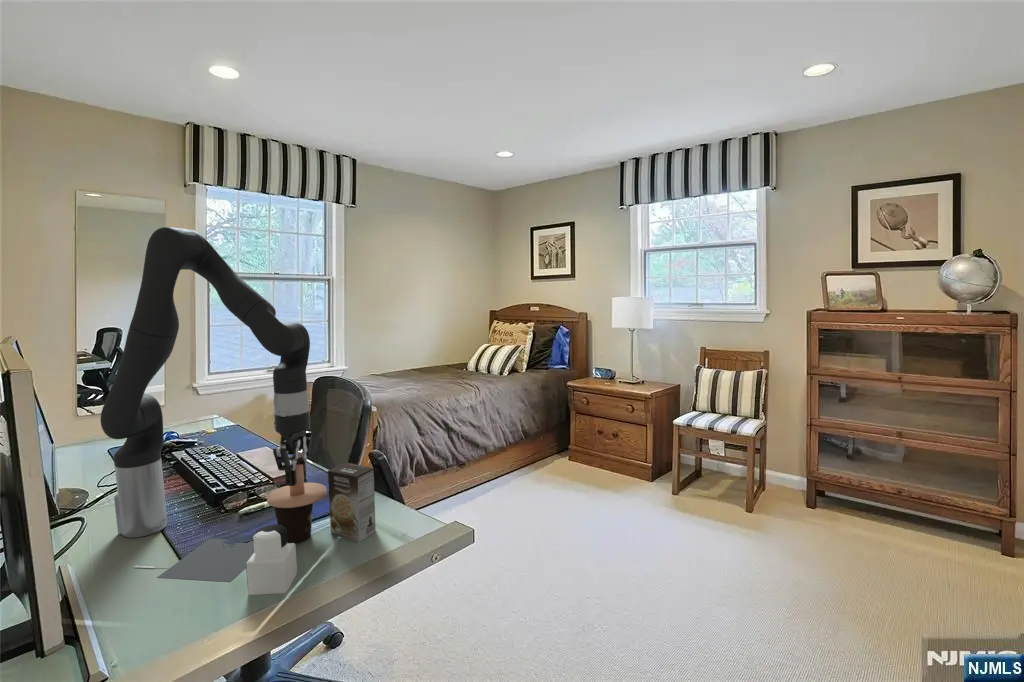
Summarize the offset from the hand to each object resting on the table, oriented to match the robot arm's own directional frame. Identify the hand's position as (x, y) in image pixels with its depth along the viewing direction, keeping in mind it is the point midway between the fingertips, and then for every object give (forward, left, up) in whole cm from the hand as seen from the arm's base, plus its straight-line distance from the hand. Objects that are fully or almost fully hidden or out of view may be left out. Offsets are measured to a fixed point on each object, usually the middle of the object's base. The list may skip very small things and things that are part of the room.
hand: (296, 481), depth 124 cm
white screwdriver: (-20, -17, -14) cm, 29 cm away
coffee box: (+12, +3, -14) cm, 19 cm away
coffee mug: (0, 0, -14) cm, 14 cm away
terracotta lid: (0, 0, -4) cm, 4 cm away
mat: (-12, -12, -14) cm, 22 cm away
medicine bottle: (+5, -20, -14) cm, 25 cm away
